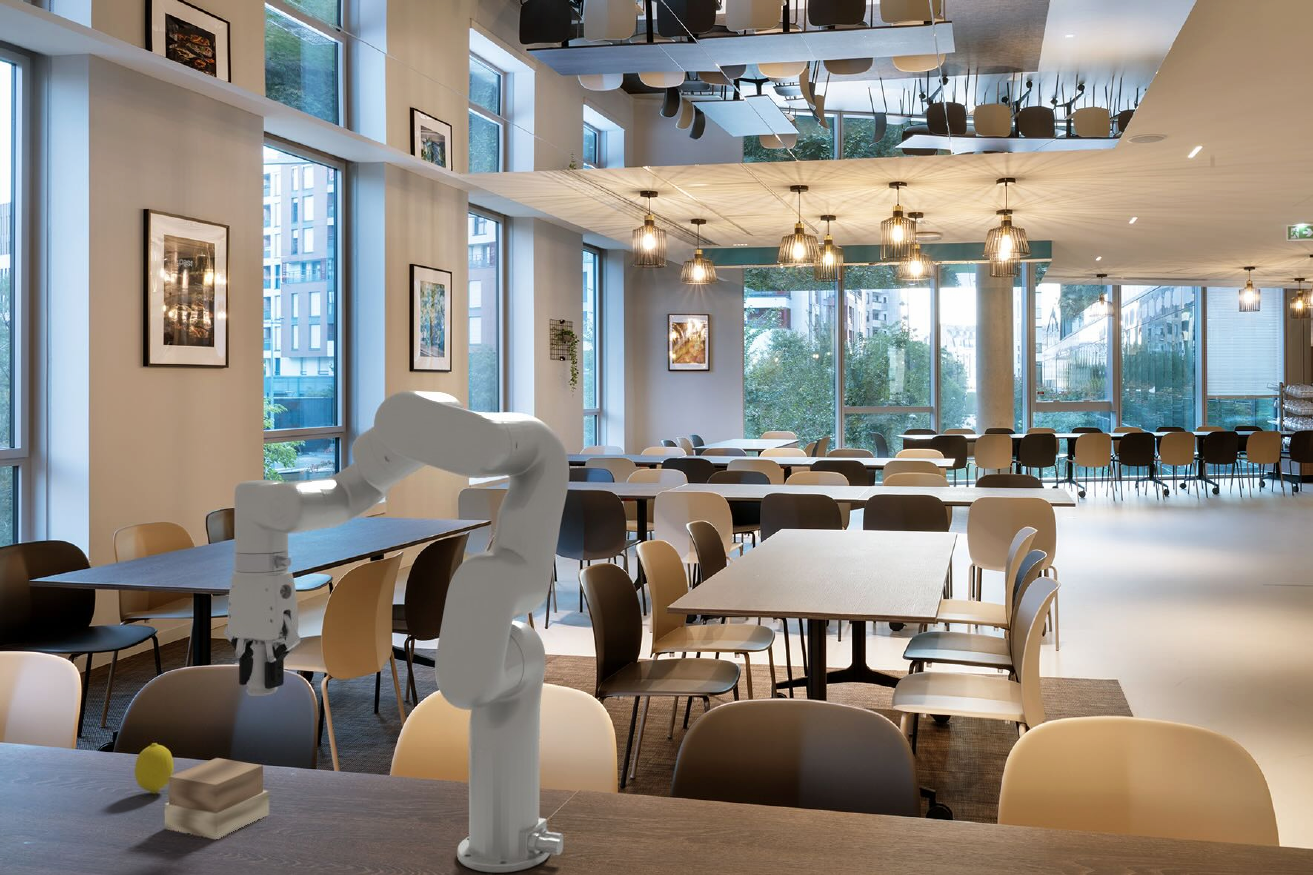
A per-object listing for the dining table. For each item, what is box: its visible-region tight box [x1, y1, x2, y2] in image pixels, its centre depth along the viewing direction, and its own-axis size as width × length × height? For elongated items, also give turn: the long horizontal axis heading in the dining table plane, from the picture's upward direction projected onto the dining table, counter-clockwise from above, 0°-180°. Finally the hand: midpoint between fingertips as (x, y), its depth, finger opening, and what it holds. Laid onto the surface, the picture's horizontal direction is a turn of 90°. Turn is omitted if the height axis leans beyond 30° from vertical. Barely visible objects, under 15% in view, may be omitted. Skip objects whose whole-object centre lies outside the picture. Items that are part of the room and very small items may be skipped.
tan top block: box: [168, 757, 264, 813], centre depth 152 cm, size 9×9×4 cm
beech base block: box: [164, 789, 270, 840], centre depth 152 cm, size 10×10×4 cm
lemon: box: [134, 742, 175, 795], centre depth 164 cm, size 6×6×8 cm
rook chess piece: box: [245, 640, 278, 697], centre depth 155 cm, size 4×4×8 cm
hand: (261, 683), depth 155 cm, fingers closed on rook chess piece, 4 cm apart
